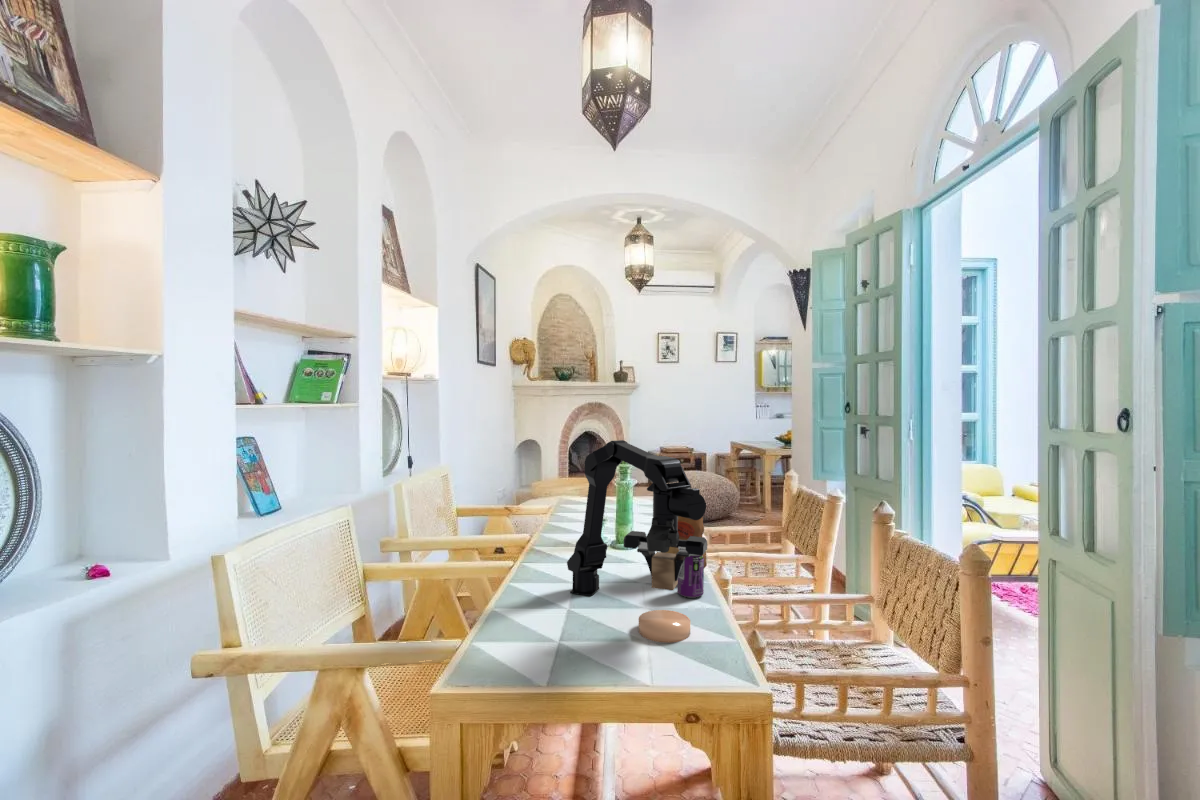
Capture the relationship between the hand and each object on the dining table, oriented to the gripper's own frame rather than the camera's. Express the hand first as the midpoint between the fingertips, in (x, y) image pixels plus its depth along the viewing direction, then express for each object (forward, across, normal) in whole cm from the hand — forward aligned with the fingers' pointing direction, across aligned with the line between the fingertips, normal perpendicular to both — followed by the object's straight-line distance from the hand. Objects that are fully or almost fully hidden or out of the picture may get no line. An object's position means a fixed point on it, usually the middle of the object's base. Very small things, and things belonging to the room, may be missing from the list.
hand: (664, 579), depth 134 cm
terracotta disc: (+12, 0, 0) cm, 12 cm away
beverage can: (+12, +1, +26) cm, 29 cm away
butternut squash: (+12, -4, +40) cm, 42 cm away
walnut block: (+2, 0, 0) cm, 2 cm away
